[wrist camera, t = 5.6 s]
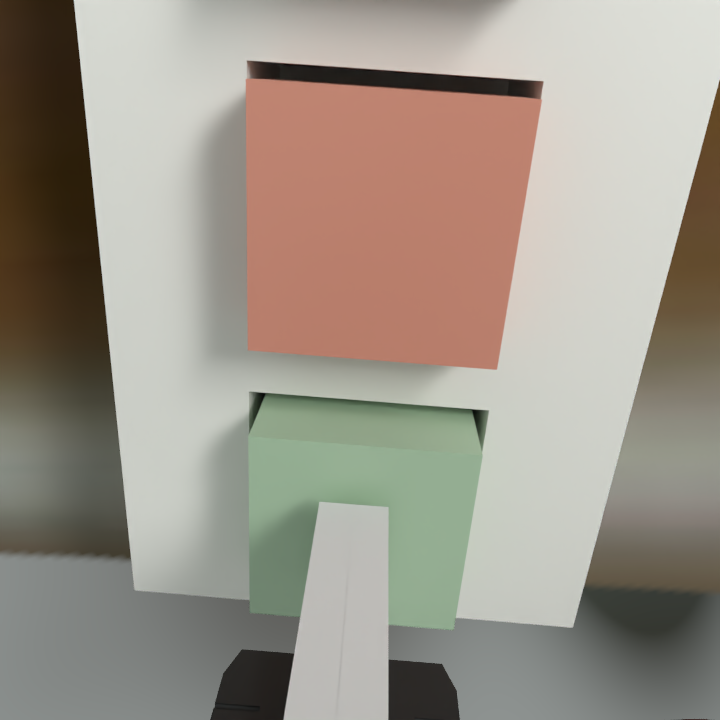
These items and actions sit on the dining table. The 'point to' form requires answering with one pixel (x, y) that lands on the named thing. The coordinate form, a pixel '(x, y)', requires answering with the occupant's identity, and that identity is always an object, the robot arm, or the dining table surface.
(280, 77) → the key panel
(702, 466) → the dining table surface
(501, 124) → the brick key
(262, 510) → the sage key
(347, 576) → the robot arm
